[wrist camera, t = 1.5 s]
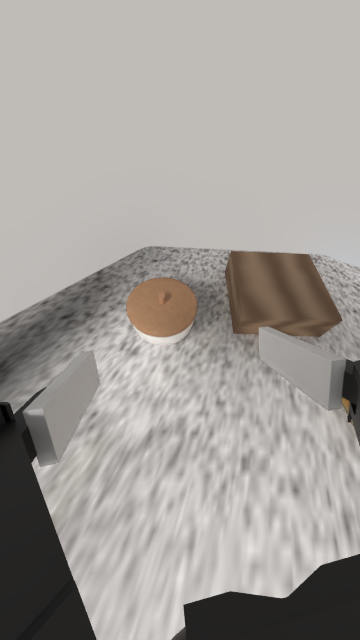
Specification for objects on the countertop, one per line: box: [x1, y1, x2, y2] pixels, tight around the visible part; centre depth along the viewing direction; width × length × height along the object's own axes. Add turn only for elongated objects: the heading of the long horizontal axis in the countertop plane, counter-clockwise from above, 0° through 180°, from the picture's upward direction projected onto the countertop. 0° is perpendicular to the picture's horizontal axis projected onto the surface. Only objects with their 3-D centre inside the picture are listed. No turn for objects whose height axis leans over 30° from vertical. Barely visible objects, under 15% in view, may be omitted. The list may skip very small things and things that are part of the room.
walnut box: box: [225, 251, 342, 337], centre depth 37 cm, size 16×16×6 cm
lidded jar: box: [126, 278, 197, 346], centre depth 31 cm, size 11×11×9 cm
